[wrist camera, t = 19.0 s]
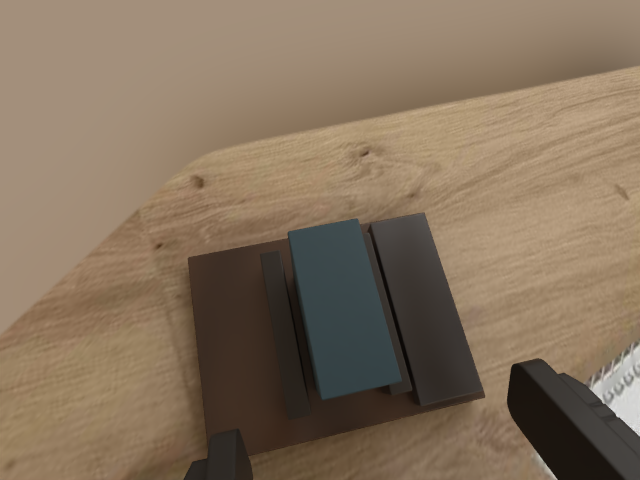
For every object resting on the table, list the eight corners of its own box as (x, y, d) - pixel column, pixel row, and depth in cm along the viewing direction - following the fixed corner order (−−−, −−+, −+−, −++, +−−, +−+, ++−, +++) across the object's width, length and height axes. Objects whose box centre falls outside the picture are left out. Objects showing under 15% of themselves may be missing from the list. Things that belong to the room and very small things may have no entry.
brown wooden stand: (418, 220, 27) (436, 195, 24) (475, 396, 23) (507, 400, 20) (193, 263, 26) (174, 244, 22) (215, 460, 22) (196, 477, 18)
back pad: (342, 266, 24) (358, 217, 17) (369, 379, 22) (402, 381, 15) (293, 276, 24) (287, 231, 17) (316, 391, 22) (321, 401, 14)
